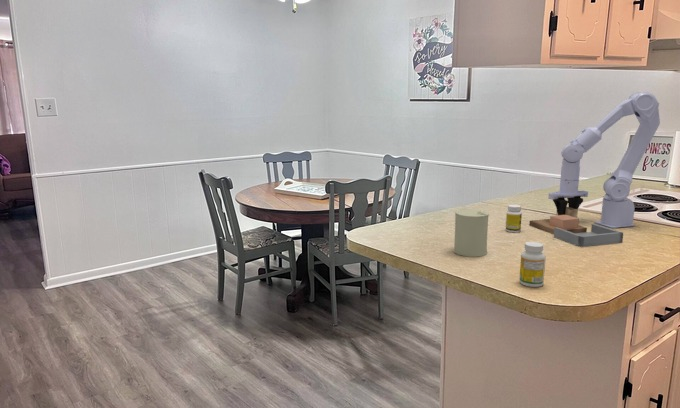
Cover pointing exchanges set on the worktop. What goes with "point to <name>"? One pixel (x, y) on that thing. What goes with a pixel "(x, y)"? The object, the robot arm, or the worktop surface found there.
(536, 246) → the supplement bottle
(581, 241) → the tray
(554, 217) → the pink square block
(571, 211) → the tall beige block
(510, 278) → the worktop surface
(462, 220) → the can
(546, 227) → the board
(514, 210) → the supplement bottle
